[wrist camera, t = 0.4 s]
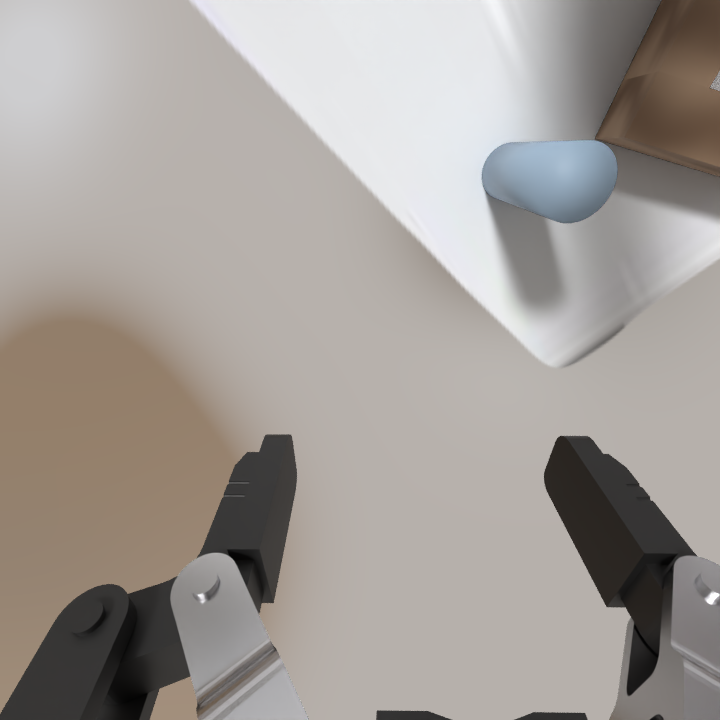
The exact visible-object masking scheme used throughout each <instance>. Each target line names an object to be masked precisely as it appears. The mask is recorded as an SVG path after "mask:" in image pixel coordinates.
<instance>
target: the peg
mask: <svg viewBox="0 0 720 720" xmlns="http://www.w3.org/2000/svg"><path fill="white" fill-rule="evenodd" d="M617 173H618V166H617V161H616V157H615V155H614V153H613V152H612V150H611V149H610V148H609V147H608V146H607V145H605V144H604V143H602V142H599V141H595V140H574V141H544V142H515V143H506V144H503V145H501V146H499V147H498V148H496V149H495V150H494V151H493V152H492V153H491V154H490V155H489V156H488V158H487V160H486V161H485V164H484V166H483V170H482V183H483V186H484V189H485V190H486V192H487V193H488V194H489V195H490V196H492V197H494V198H496V199H499V200H501V201H504V202H507V203H509V204H512V205H515V206H517V207H520V208H522V209H525V210H528V211H530V212H533V213H536V214H538V215H541V216H543V217H546V218H549V219H551V220H554V221H557V222H560V223H574V222H578V221H581V220H584V219H586V218H588V217H589V216H591V215H592V214H594V213H595V212H596V211H598V210H599V209H600V208H601V207H602V206H603V204H604V203H605V202H606V201H607V199H608V198H609V196H610V195H611V193H612V191H613V189H614V186H615V183H616V179H617Z"/></svg>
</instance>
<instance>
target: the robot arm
mask: <svg viewBox="0 0 720 720" xmlns="http://www.w3.org/2000/svg"><path fill="white" fill-rule="evenodd" d="M296 482H297V469H296V462H295V456H294V449H293V441H292V436H291V435H265V437H264V440H263V442H262V445H261V448H260V451H259V452H247V453H246V454H245V455H244V456H243V457H242V459H241V460H240V461H239V462H238V463H237V464H236V465H235V467H234V469H233V472H232V474H231V477H230V480H229V484H228V485H227V487H226V490H225V492H224V497H223V498H222V500H221V502H220V505H219V507H218V510H217V512H216V515H215V518H214V520H213V523H212V525H211V528H210V530H209V533H208V535H207V538H206V540H205V543H204V545H203V548H202V550H201V552H200V554H199V555H198V557H197V558H196V559H195V560H193V561H192V562H190V563H189V564H188V565H187V566H186V567H185V568H184V569H183V570H182V571H181V572H180V574H179V575H178V576H177V577H175V578H173V579H171V580H169V581H166V582H164V583H161V584H158V585H155V586H152V587H148V588H145V589H142V590H139V591H136V592H133V593H130V594H127V593H126V591H125V590H124V589H123V588H122V587H120V586H118V585H114V584H106V585H101V586H97V587H94V588H92V589H90V590H88V591H86V592H85V593H83V594H81V595H80V596H78V597H77V598H75V599H74V600H73V601H72V602H71V603H70V604H69V605H68V606H67V607H66V608H65V609H64V610H63V611H62V612H61V613H60V615H59V616H58V617H57V619H56V620H55V622H54V624H53V625H52V627H51V628H50V630H49V632H48V634H47V636H46V637H45V639H44V640H43V642H42V644H41V645H40V647H39V649H38V651H37V652H36V654H35V656H34V658H33V659H32V661H31V662H30V664H29V666H28V668H27V669H26V671H25V673H24V675H23V676H22V678H21V680H20V681H19V683H18V685H17V686H16V688H15V690H14V692H13V693H12V695H11V697H10V698H9V700H8V702H7V703H6V705H5V707H4V708H3V710H2V712H1V714H0V720H150V716H151V713H152V710H153V707H154V704H155V701H156V698H157V695H158V692H159V689H160V688H162V687H164V686H167V685H170V684H172V683H175V682H177V681H180V680H182V679H185V678H187V677H190V676H191V679H192V682H193V686H194V690H195V694H196V698H197V718H198V720H309V719H308V716H307V714H306V712H305V710H304V708H303V706H302V703H301V701H300V699H299V697H298V695H297V692H296V690H295V688H294V686H293V684H292V682H291V679H290V677H289V675H288V673H287V671H286V668H285V666H284V664H283V662H282V660H281V658H280V656H279V654H278V652H277V650H276V648H275V647H274V646H273V644H272V642H271V640H270V638H269V636H268V634H267V631H266V629H265V627H264V625H263V622H262V620H261V618H260V616H259V613H260V608H261V604H262V603H274V598H275V592H276V588H277V583H278V578H279V573H280V567H281V562H282V557H283V552H284V547H285V542H286V537H287V532H288V526H289V521H290V516H291V511H292V506H293V501H294V496H295V490H296ZM544 482H545V486H546V490H547V492H548V494H549V496H550V498H551V500H552V502H553V504H554V506H555V508H556V510H557V512H558V514H559V516H560V517H561V519H562V521H563V523H564V525H565V527H566V529H567V531H568V533H569V535H570V537H571V539H572V541H573V543H574V545H575V547H576V549H577V550H578V552H579V554H580V556H581V558H582V560H583V562H584V564H585V566H586V568H587V570H588V572H589V574H590V576H591V578H592V580H593V581H594V583H595V585H596V587H597V589H598V591H599V593H600V595H601V597H602V599H603V601H604V603H605V605H606V606H607V607H626V609H627V611H628V612H629V614H630V616H631V618H630V620H629V622H628V624H627V630H626V638H625V646H624V653H623V661H622V669H621V676H620V684H619V692H618V697H617V702H616V705H615V708H614V710H613V712H612V714H611V717H610V719H609V720H720V565H718V564H716V563H714V562H712V561H710V560H707V559H705V558H701V557H698V556H697V555H696V554H695V553H694V552H693V551H692V549H691V548H690V547H689V546H688V544H687V543H686V542H685V541H684V539H683V538H682V537H681V536H680V534H679V533H678V532H677V531H676V529H675V528H674V527H673V526H672V524H671V523H670V522H669V520H668V519H667V518H666V517H665V515H664V514H663V513H662V512H661V510H660V509H659V508H658V507H657V505H656V504H655V503H654V502H653V501H651V500H650V497H649V495H648V494H647V493H646V492H645V490H644V489H643V488H642V487H640V486H639V483H638V482H637V480H636V479H635V478H634V476H633V475H632V474H631V473H630V471H629V470H628V469H627V468H626V467H625V466H624V465H622V464H621V463H620V462H618V461H617V460H616V459H614V458H613V457H612V456H610V455H609V454H603V453H602V452H601V450H600V449H599V448H598V447H597V445H596V444H595V442H594V441H593V440H592V439H591V438H590V437H588V436H560V437H558V438H557V440H556V442H555V445H554V447H553V450H552V453H551V455H550V458H549V461H548V464H547V466H546V469H545V472H544ZM376 720H451V719H448V718H445V717H443V716H440V715H437V714H434V713H431V712H429V711H377V718H376ZM515 720H587V717H586V715H585V713H544V712H543V713H542V712H537V713H536V712H533V713H531V714H528V715H526V716H523V717H521V718H518V719H515Z"/></svg>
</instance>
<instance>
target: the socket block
mask: <svg viewBox="0 0 720 720" xmlns="http://www.w3.org/2000/svg"><path fill="white" fill-rule="evenodd" d="M719 71H720V0H662V1H661V3H660V5H659V7H658V9H657V11H656V13H655V15H654V17H653V19H652V22H651V24H650V26H649V28H648V30H647V32H646V34H645V36H644V38H643V40H642V42H641V44H640V46H639V48H638V50H637V52H636V54H635V57H634V59H633V61H632V63H631V65H630V67H629V69H628V71H627V73H626V75H625V77H624V79H623V81H622V83H621V85H620V87H619V90H618V92H617V94H616V96H615V98H614V100H613V102H612V104H611V106H610V108H609V110H608V112H607V114H606V116H605V118H604V120H603V122H602V125H601V127H600V129H599V131H598V133H597V135H596V137H595V139H597V140H601V141H604V142H607V143H611V144H614V145H617V146H620V147H624V148H627V149H630V150H634V151H637V152H640V153H643V154H647V155H650V156H653V157H656V158H660V159H663V160H666V161H670V162H673V163H676V164H679V165H683V166H686V167H689V168H693V169H696V170H699V171H702V172H706V173H709V174H712V175H715V176H719V177H720V91H717V90H714V89H711V88H710V86H711V84H712V82H713V81H714V79H715V77H716V76H717V74H718V72H719Z"/></svg>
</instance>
